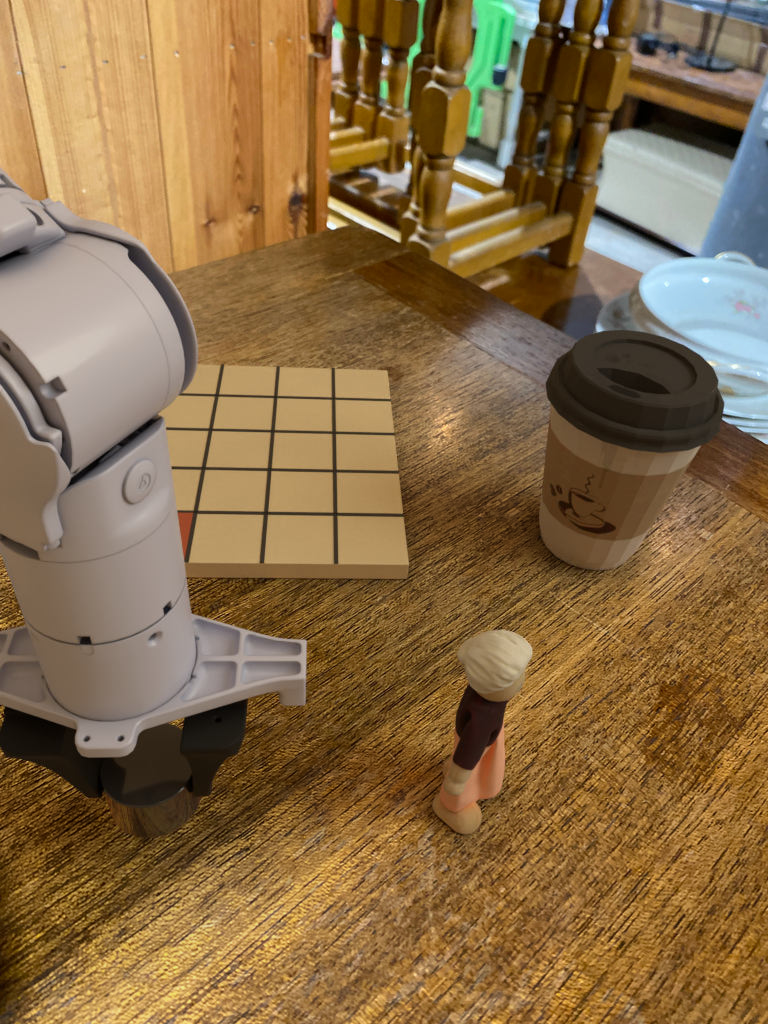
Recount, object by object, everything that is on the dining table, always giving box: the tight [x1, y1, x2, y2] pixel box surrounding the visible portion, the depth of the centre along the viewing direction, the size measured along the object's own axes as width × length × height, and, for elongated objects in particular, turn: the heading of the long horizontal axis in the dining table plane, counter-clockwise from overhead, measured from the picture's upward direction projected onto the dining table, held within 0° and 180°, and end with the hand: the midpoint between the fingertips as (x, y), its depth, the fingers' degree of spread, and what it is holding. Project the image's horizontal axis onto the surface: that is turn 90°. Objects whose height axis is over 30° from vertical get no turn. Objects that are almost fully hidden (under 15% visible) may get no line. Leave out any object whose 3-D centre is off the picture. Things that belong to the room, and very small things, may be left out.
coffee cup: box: [538, 329, 725, 571], centre depth 54 cm, size 11×11×15 cm
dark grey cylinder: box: [99, 722, 202, 839], centre depth 37 cm, size 4×4×3 cm
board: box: [158, 363, 410, 580], centre depth 62 cm, size 20×25×2 cm
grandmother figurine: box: [431, 629, 534, 836], centre depth 39 cm, size 8×4×13 cm, turn 171°
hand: (151, 777), depth 37 cm, fingers closed on dark grey cylinder, 4 cm apart
